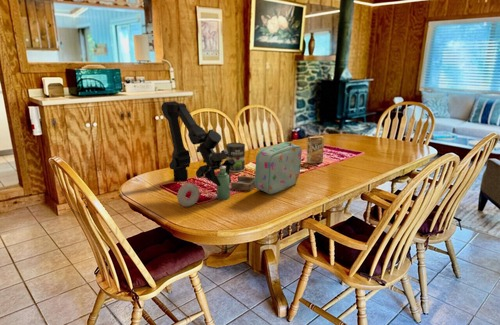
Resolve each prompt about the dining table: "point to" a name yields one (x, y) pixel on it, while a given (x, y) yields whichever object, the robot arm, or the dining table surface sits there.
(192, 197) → the donut
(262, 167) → the lunch box
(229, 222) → the dining table surface
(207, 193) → the dining table surface
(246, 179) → the rest
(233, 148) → the coffee can
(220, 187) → the bottle
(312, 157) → the candy box
